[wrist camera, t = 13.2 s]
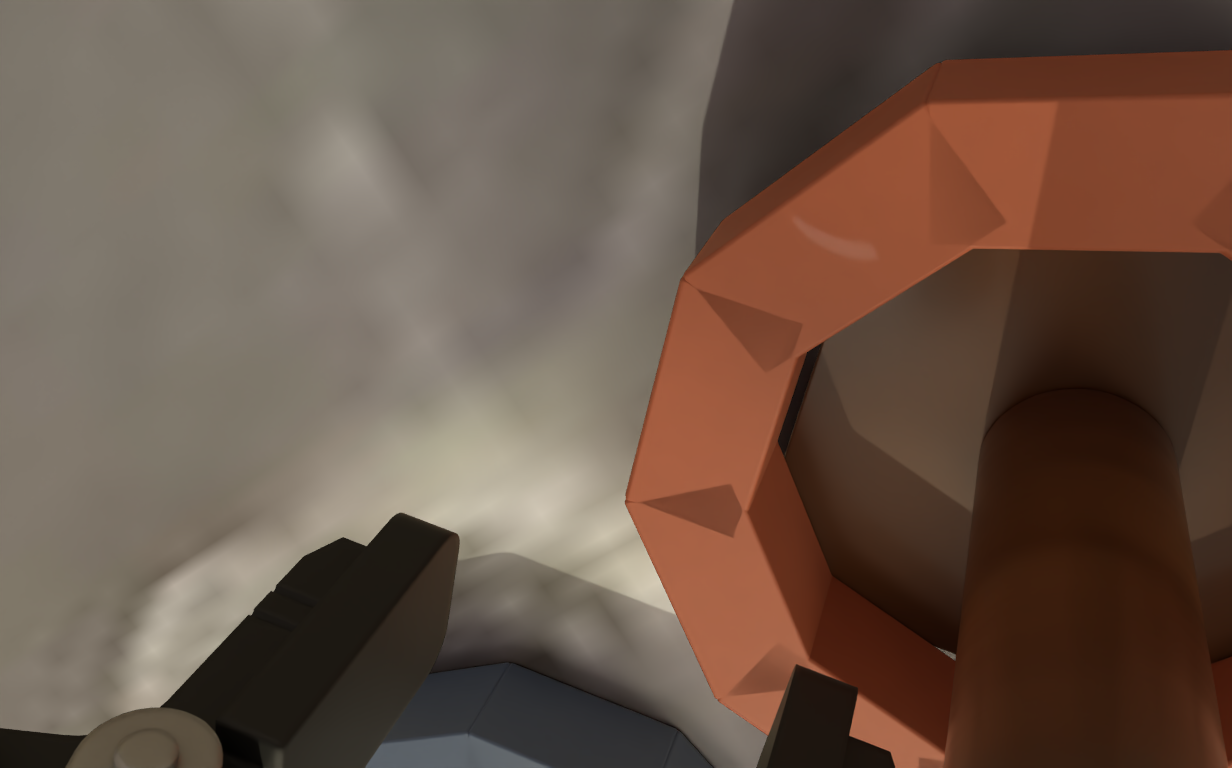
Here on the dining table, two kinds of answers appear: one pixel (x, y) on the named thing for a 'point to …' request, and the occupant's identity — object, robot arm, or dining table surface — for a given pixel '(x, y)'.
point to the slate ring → (524, 727)
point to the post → (1042, 496)
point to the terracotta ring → (860, 283)
